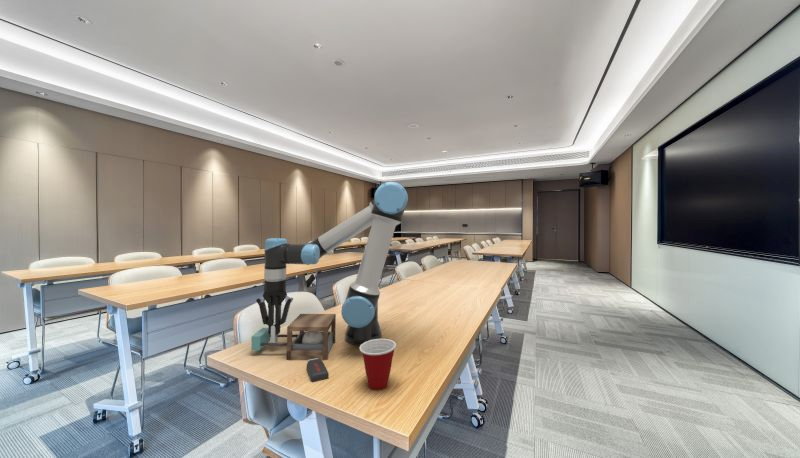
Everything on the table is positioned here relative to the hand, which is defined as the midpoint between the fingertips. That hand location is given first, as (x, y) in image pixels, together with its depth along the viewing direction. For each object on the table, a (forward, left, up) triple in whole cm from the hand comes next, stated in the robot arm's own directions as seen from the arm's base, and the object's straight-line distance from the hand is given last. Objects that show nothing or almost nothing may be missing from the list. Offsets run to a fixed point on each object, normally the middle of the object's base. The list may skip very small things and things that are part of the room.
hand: (274, 342), depth 107 cm
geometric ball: (-14, 0, -3) cm, 15 cm away
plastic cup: (-39, +24, -3) cm, 46 cm away
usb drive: (-20, +16, -4) cm, 25 cm away
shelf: (-14, 0, -3) cm, 15 cm away
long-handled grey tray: (-7, 0, -3) cm, 8 cm away
